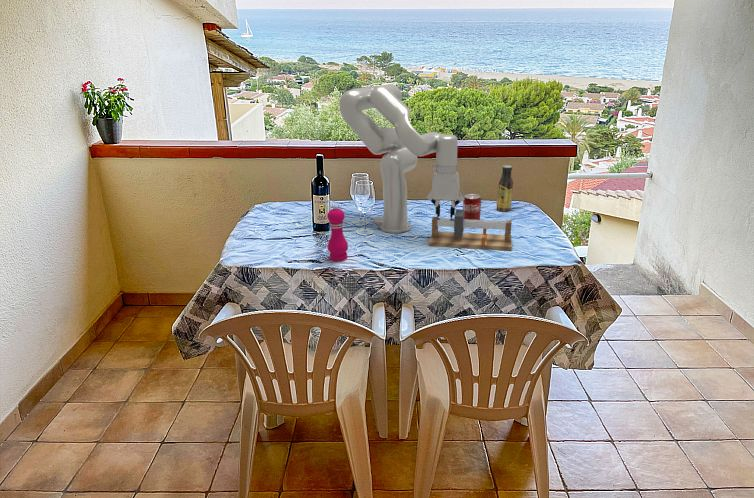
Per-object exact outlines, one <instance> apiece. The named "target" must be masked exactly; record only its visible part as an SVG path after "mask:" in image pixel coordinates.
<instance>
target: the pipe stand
mask: <svg viewBox="0 0 754 498" xmlns="http://www.w3.org/2000/svg"><path fill="white" fill-rule="evenodd" d="M438 218H439V217H437V216H433V217H432V219H431V235H430V238H429V240H428V246H429V247H442V248H443V247H444V248H457V249H458V248H459V249H471V250H472V249H475V250H492V251H508V252H509V251H510V252H512V248H513V247H512V246H513V245H512V242H513V241H512V222H513V221H512V220H509V219H508V220H507V219H506V220H505V221H506V228H505V231H504V234H490V233H487V229H484V228H482V229H483V230H482V233H476V232H475V233H474V232H463V235H462V237H454V231H440V230H439V226H437V220H438Z"/></svg>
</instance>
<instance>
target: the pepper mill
mask: <svg viewBox="0 0 754 498" xmlns="http://www.w3.org/2000/svg"><path fill="white" fill-rule="evenodd" d="M345 217H346V216H345V213H344V210H342V209H341V208H339V206H338V204H334V205H333V206H332V209H330V210H329V211H328V213H327V220H328V221H329V228H330V231H331V233H330V237H329V240H328V243H327V251H328V252H329V260H330V259H331V260H330V261H332V260H333V262H335V261H340V262H343V260H344V261H346V260H347V259H348V253H347V251H348V250H349V244H348V240H346V237H345V235H344V229H343V227H344V226H345V225H344V220H345ZM345 259H346V260H345Z"/></svg>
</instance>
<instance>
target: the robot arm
mask: <svg viewBox="0 0 754 498" xmlns="http://www.w3.org/2000/svg"><path fill="white" fill-rule="evenodd" d="M338 104H339V112H340V116H341V117H342V119H343V121H344V122H345V123H346V125H347V126H349V128H350V129H351V130H353V132H354V133H355V135H357V137H358V138H359V139H360V141H361V143H363V145H364V146H366V148H367V149H368V150H369V152H371V153H372V154H373V155H383V154H384V155H383V156H382V158H381V159H380V163H379V169H380V174H381V178H382V179H381V180H382V199H383V201H382V202H383V204H382V205H383V208H382V209H383V210H382V211H383V216H381V217H378V216H374V217H373V222H374V223H375V224H380V225H379V227H380V230H381V231H382V232H385V233H387V234H388V233H389V234H400V233H406V232H408V231H410V230H411V228H412V225H411V223H409V222H408V186H407V185H408V184H407V180H406V178H405V173H408V172H410V171H411V170H413V169H414V168H415V167H417V164H418V159H419V158H418V157H424V156H427V155H431V154H435V153H436V154H435V156H436V157H435V165H432V166H431V169H432V170H435V171H434V172H433V176H432V181H431V184H432V185H431V190H430V192H429V193H428V195H427V196H426V199H427V200H428V201H430V202H431V203H432V204H433V205H434V206H435V215H437V216H436V217H438V218H440V217H441V205H440V202H441V201H450V203H451V206H450V214H449V218H450V219H453V217H454V216H455V213H456V207H457V206H458V205H459V204H461V203H462V202H463V200H464V199H465V198H464V194H463V193H462V192H461V189H460V187H461V185H460V184H461V183H460V175H459V172H457V170H458V168H457V167H458V144H459V143H458V142H459V141H458V137H457V136H456V135H454V134H451V133H450V134H448V133H445V134H443V133H439V132H435V131H429V132H426V133H423V134H420V133H419V132H418V131H416V129H415V128H414V127H413V126H412V125H411V123H410V121H409V120H410V117H411V114H412V113H411V109H410V108H409V107H408V106H407V105H406V104H405V103H404V102H403V93H402V90H401V88H400V87H398V86H397V85H395V84H391V83H390V84H385V85H384V84H382V85H375V86H374V85H373V86H365V87H358V88H352V89H348V90H347V91H345V92H344V93H342V95H341V97H340V100H339V103H338ZM369 109H376V110H377V111H378V113H380V114H381V115H382V116H383V117H384V118H385V119H386V120H387V121H388V122H389V123H390V124H391V125H392V126H393V127H394V128H393V127H383V128H381V127H380V126H379V125H378V124H377V123H376V122H375V121H374V119H372V117H370V116H369V115H368V114H366V113H365V112H364V111H365V110H369Z"/></svg>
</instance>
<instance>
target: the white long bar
mask: <svg viewBox="0 0 754 498" xmlns="http://www.w3.org/2000/svg"><path fill="white" fill-rule="evenodd" d="M437 226H438V227H445V228H447V227H450V228H454V218H450V217H448V218H445V217H443V218H442V217H438V220H437ZM463 227H464V229H465V228H466V229H467V228H469V229H483V228H484V229H486V230H505V228H506V220H486V219H480V220H469V219H463Z"/></svg>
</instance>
